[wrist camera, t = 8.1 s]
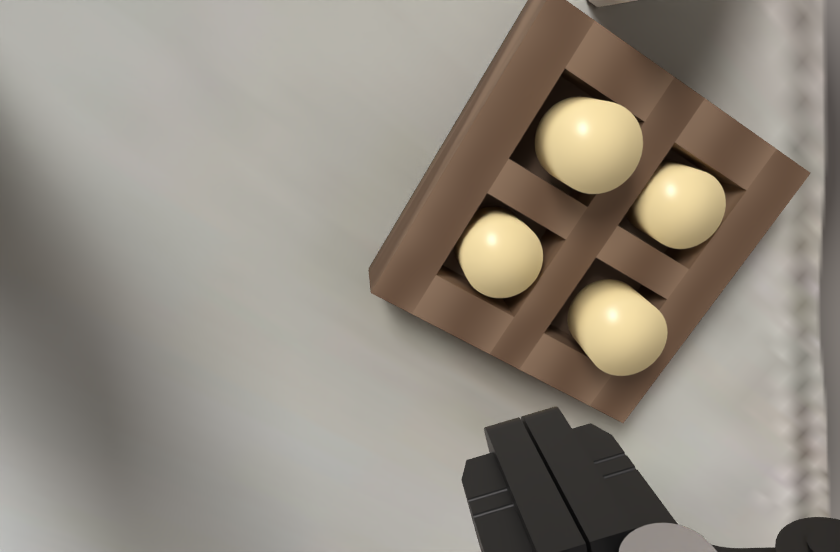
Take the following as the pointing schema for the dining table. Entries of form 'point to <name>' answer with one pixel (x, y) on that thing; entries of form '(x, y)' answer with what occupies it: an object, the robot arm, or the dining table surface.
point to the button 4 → (679, 206)
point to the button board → (576, 206)
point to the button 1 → (499, 253)
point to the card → (607, 2)
